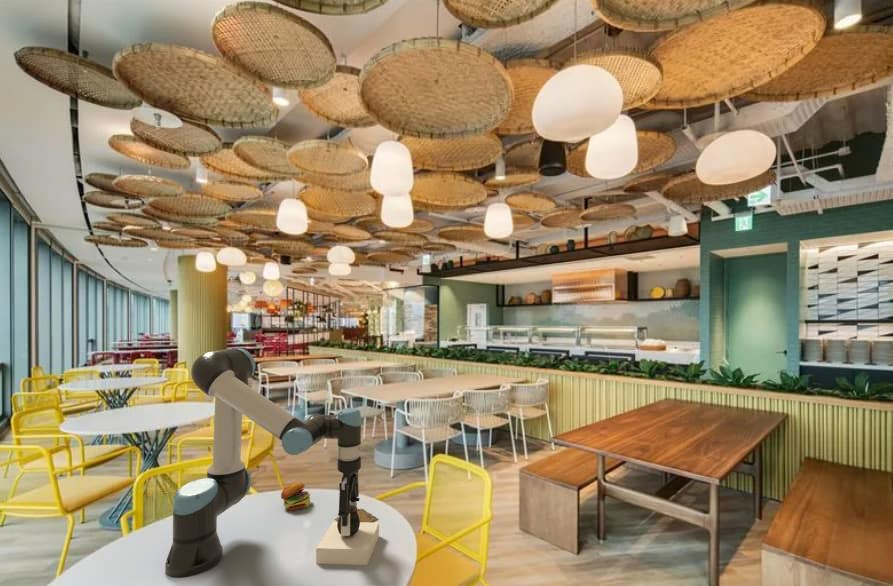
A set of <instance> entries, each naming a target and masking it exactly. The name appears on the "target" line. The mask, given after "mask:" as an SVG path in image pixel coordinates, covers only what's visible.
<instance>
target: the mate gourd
mask: <svg viewBox="0 0 893 586" xmlns="http://www.w3.org/2000/svg"><path fill="white" fill-rule="evenodd" d="M357 510H358V506H357V507H356V506H354V505H350V508H349V514H350V536H353V535H354V534H356V533H357V531H358V530H359V526H360V520H359V516H358V513H357ZM338 517H339V519H338V523H337V528H338V531H339V533H340V534H341V516H338ZM350 536H344V537H350Z"/></svg>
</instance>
